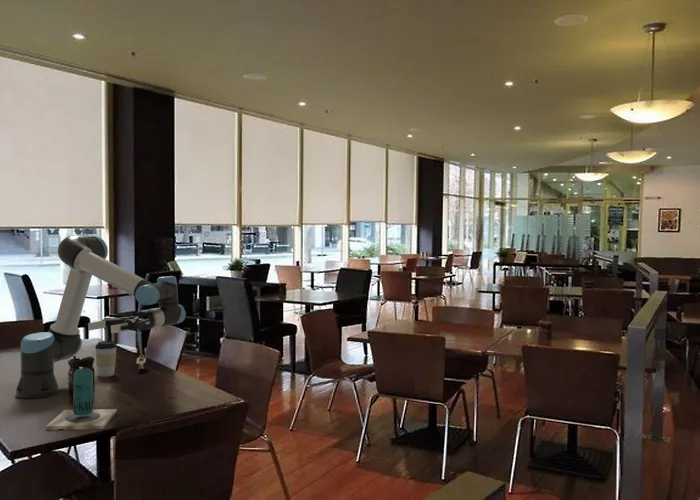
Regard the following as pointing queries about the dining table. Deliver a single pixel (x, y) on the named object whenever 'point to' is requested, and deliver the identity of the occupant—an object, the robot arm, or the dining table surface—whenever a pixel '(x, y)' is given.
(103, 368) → the coffee cup
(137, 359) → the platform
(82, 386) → the beverage bottle
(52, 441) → the dining table surface
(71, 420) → the birch board
